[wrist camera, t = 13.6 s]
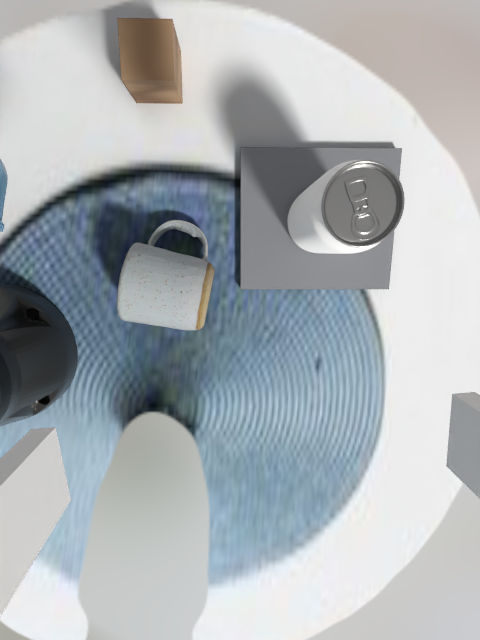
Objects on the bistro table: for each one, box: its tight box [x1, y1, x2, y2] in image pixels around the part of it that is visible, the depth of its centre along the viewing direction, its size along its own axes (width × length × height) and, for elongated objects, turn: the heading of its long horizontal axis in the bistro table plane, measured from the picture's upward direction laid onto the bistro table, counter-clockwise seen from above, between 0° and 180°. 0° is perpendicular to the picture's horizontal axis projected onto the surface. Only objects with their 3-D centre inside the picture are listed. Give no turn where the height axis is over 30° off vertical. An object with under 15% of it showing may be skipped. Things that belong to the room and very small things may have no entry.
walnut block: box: [117, 18, 182, 104], centre depth 30 cm, size 4×4×4 cm
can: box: [287, 160, 404, 254], centre depth 28 cm, size 6×6×12 cm
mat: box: [241, 147, 402, 289], centre depth 34 cm, size 16×14×1 cm
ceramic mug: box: [117, 220, 215, 330], centre depth 32 cm, size 11×8×8 cm
